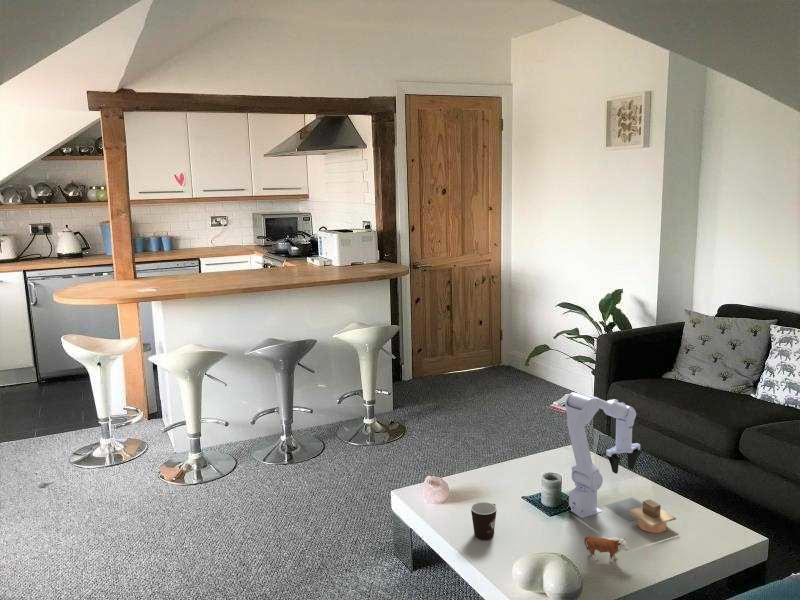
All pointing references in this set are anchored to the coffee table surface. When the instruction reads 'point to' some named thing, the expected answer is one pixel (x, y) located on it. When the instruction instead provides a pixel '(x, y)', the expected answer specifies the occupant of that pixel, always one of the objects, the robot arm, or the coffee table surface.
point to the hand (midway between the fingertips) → (622, 470)
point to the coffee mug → (483, 520)
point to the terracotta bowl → (653, 529)
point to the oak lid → (651, 514)
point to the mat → (624, 507)
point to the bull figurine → (605, 546)
